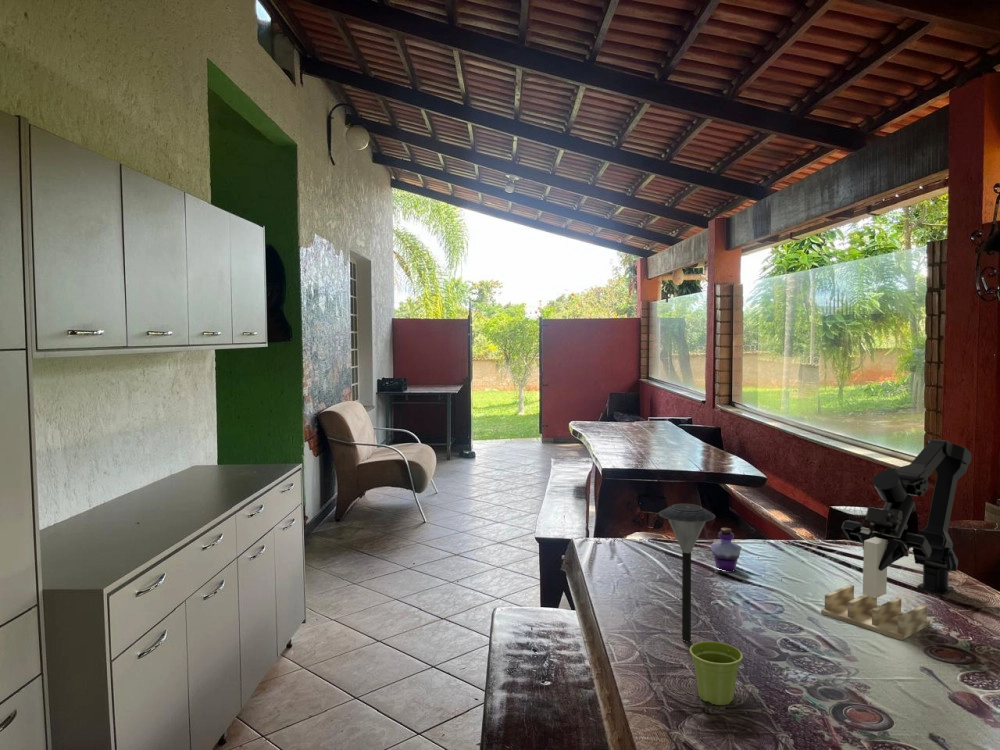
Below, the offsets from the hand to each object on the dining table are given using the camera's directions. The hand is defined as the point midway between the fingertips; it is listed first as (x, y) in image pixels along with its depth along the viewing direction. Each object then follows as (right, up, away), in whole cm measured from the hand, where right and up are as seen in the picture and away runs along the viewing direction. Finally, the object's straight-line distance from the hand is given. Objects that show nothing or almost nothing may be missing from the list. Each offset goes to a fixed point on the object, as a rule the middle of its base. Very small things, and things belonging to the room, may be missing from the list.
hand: (872, 567), depth 158 cm
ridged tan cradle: (+1, -13, +1) cm, 13 cm away
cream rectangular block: (+1, -7, +1) cm, 7 cm away
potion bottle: (-22, -11, +38) cm, 45 cm away
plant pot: (-48, -15, -33) cm, 60 cm away
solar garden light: (-46, -14, -9) cm, 49 cm away
